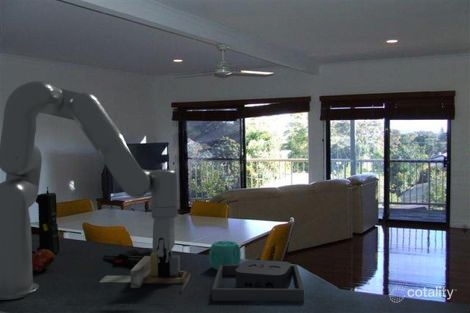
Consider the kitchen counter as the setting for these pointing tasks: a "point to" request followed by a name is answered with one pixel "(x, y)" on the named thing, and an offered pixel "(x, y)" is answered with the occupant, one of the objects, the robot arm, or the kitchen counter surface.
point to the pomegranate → (42, 260)
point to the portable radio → (48, 222)
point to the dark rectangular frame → (255, 289)
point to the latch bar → (173, 265)
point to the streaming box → (263, 274)
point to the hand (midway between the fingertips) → (165, 273)
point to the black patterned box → (126, 257)
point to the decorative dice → (224, 254)
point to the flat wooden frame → (146, 276)
